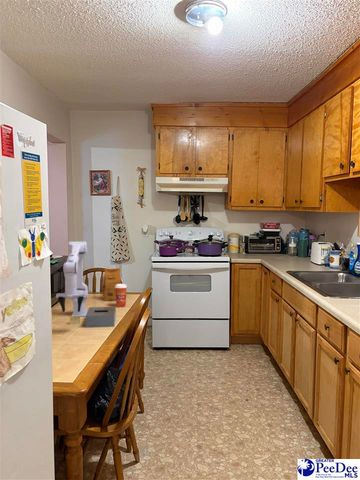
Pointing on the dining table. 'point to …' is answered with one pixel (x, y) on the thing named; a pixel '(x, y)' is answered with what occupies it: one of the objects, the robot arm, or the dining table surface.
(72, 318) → the block
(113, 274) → the coffee package
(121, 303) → the paper cup
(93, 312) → the coin box
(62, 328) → the dining table surface
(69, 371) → the dining table surface
